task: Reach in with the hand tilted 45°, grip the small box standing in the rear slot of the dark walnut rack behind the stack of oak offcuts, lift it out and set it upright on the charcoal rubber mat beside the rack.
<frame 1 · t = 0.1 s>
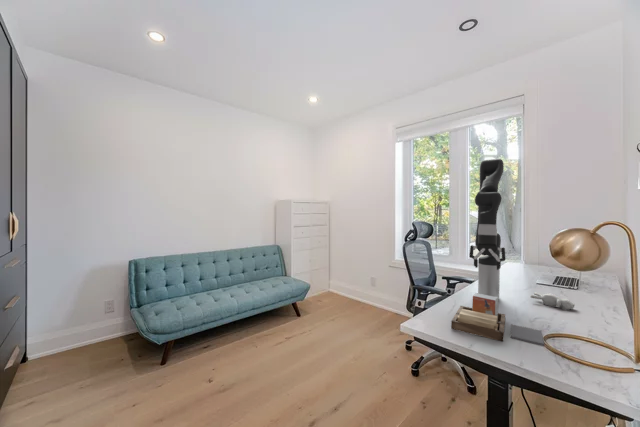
hand: (486, 268, 125), 17 cm above the table, tool pointing down, fingers open, 8 cm apart
charcoal mat: (526, 334, 95), on the table
walnut rack: (479, 325, 103), on the table
offcut stack: (477, 330, 99), resting in walnut rack
bunny figurine: (552, 306, 125), on the table
small box: (484, 322, 106), resting in walnut rack
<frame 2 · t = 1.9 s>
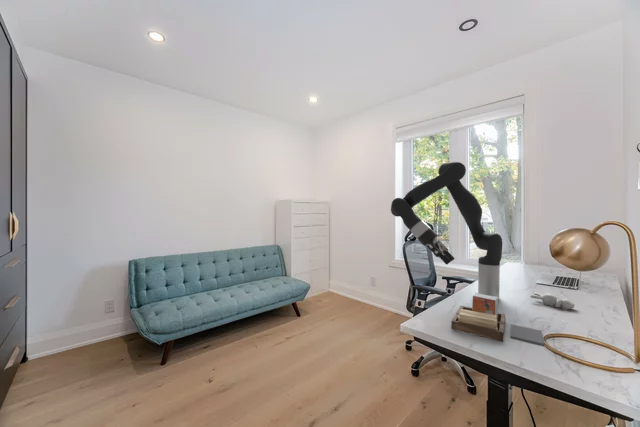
hand: (450, 261, 113), 23 cm above the table, tool tilted 45°, fingers open, 8 cm apart
nothing on the table moved.
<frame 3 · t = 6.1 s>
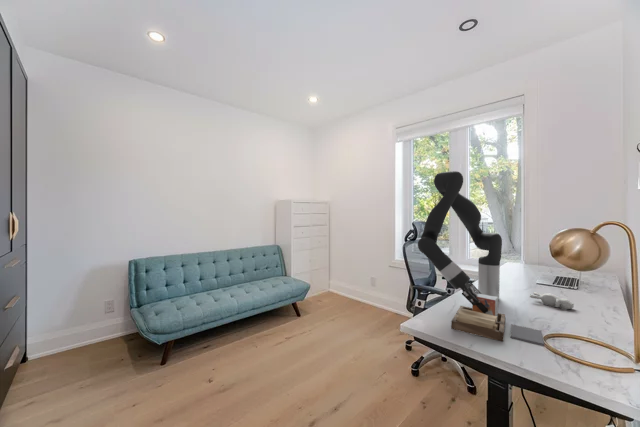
hand: (487, 309, 105), 5 cm above the table, tool tilted 45°, fingers closed on small box, 6 cm apart
small box: (484, 322, 106), resting in walnut rack, touching gripper
when the fingers open (7 cm above the table, at t = 12.4 s): small box drops 1 cm, resting on charcoal mat.
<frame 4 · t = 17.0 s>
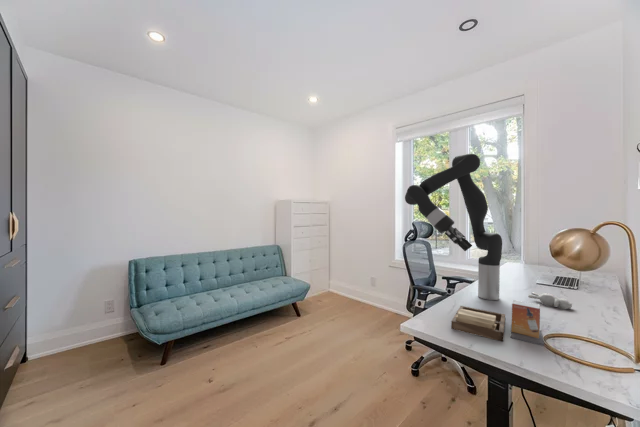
hand: (469, 248, 111), 29 cm above the table, tool tilted 45°, fingers open, 8 cm apart
small box: (525, 333, 95), resting on charcoal mat
everything else where it was.
at the end: small box inside the target area on the charcoal mat (0.4 cm from its centre), point 0.4 cm above the charcoal mat's base; small box tilted 0°; the gripper is holding nothing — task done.
